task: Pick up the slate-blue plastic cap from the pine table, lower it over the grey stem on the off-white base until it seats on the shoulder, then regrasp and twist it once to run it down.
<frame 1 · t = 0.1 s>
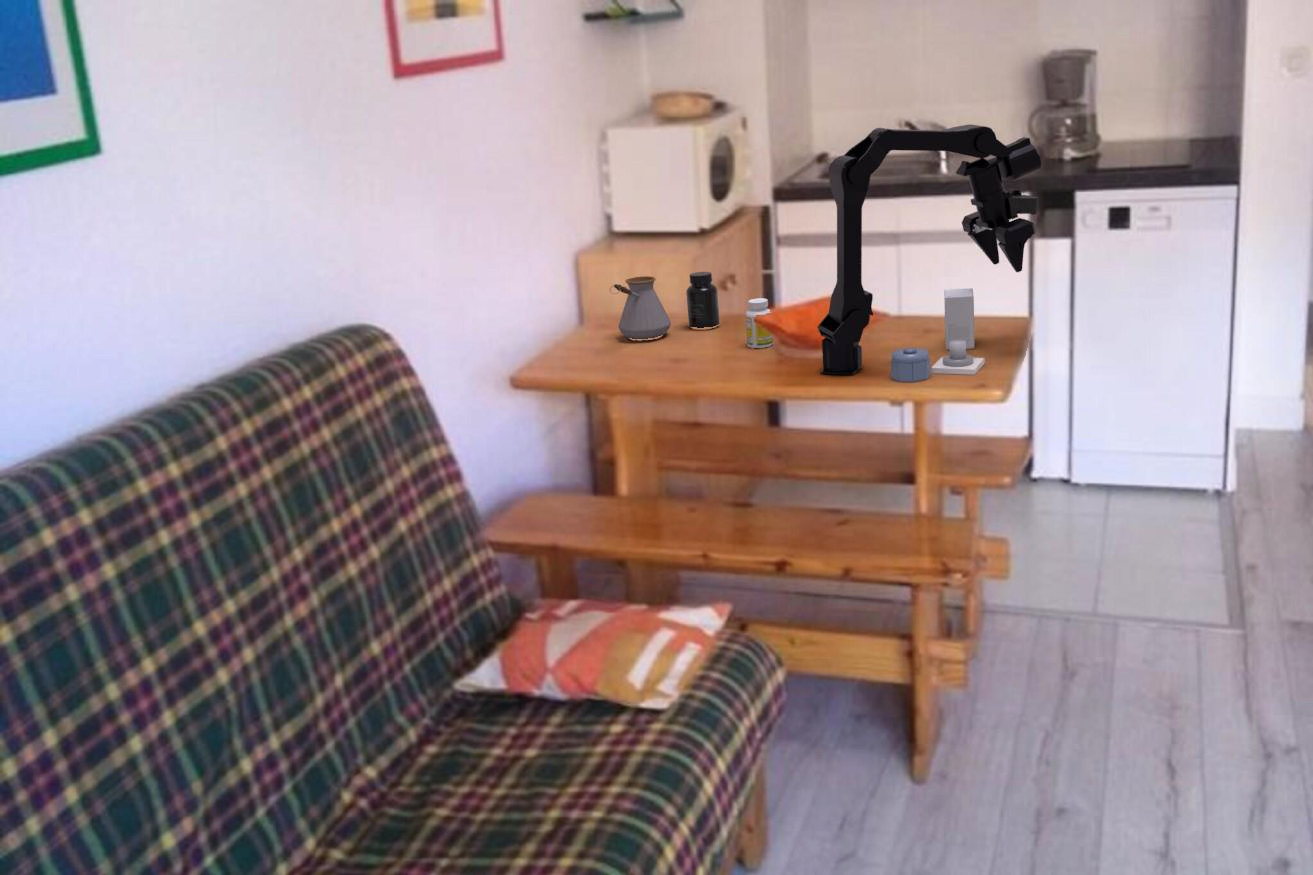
hand: (1007, 267, 262), 15 cm above the table, tool pointing down, fingers open, 9 cm apart
coffee pot: (638, 343, 295), on the table
cap: (910, 376, 252), on the table
post: (958, 368, 255), on the table
supplement bottle: (704, 328, 304), on the table
supplement bottle 2: (760, 346, 284), on the table
small box: (959, 345, 271), on the table
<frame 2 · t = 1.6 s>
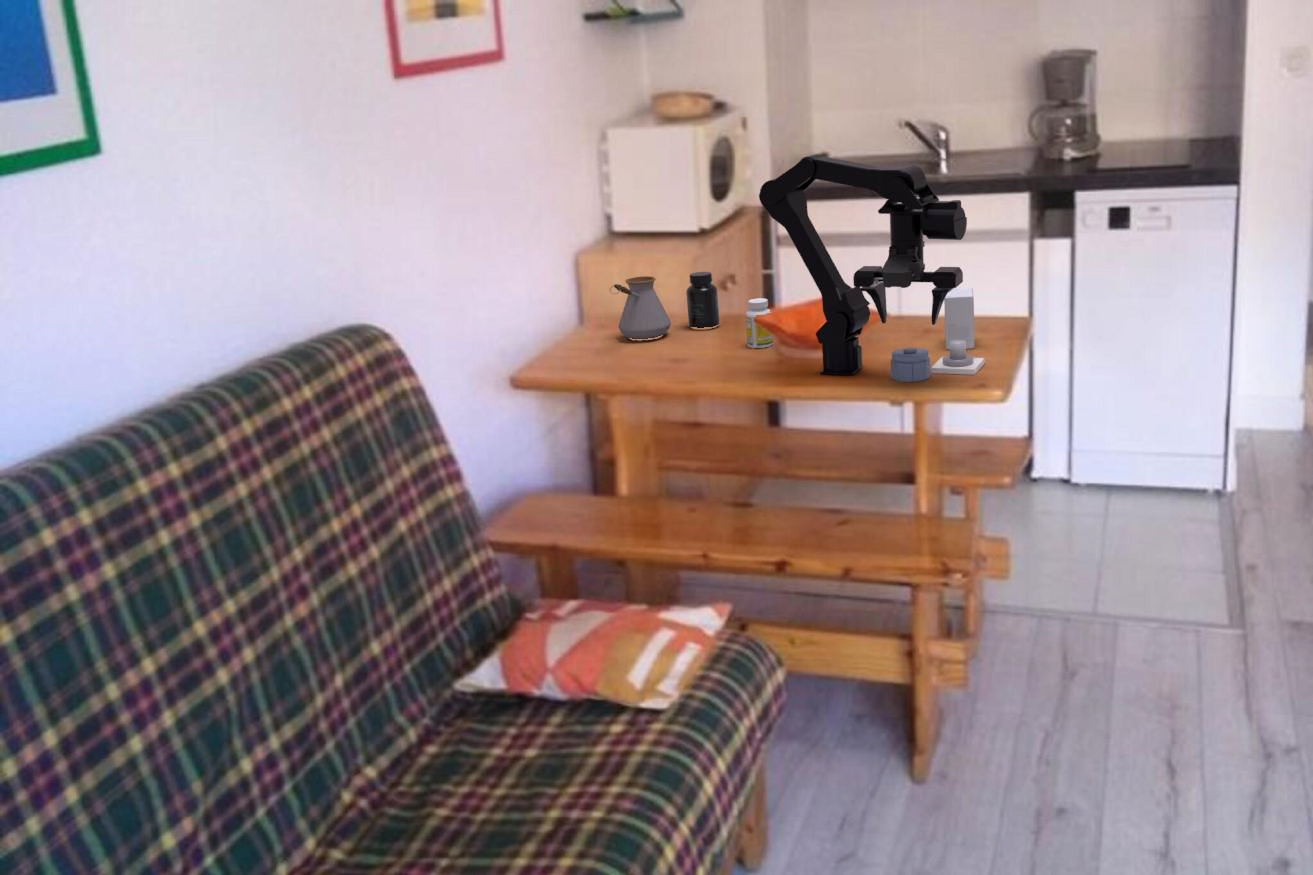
hand: (908, 323, 249), 10 cm above the table, tool pointing down, fingers open, 9 cm apart
nothing on the table moved.
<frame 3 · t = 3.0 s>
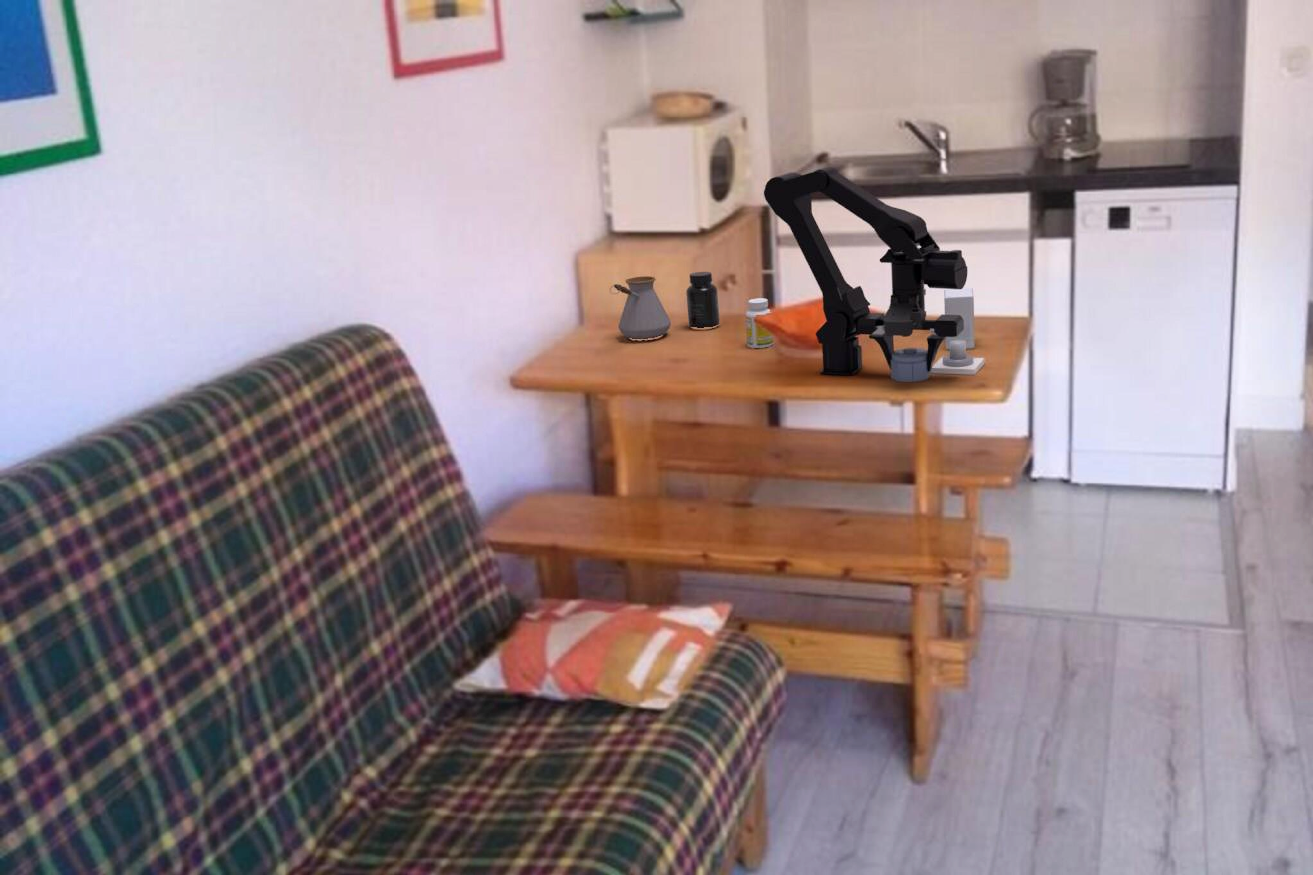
hand: (910, 370, 252), 1 cm above the table, tool pointing down, fingers closed on cap, 7 cm apart
cap: (910, 376, 252), on the table, touching gripper
everything else where it was.
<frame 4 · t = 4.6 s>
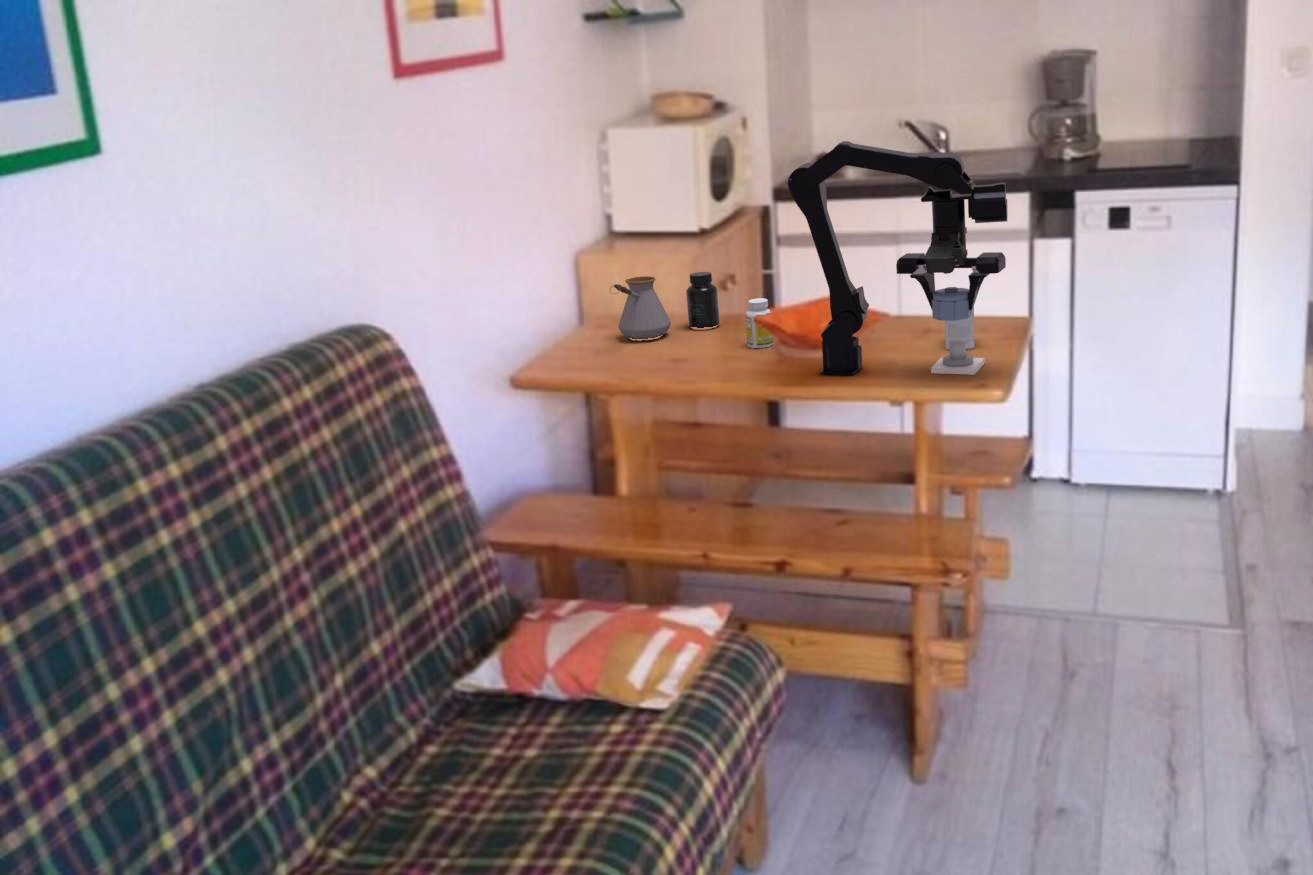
hand: (952, 309, 251), 11 cm above the table, tool pointing down, fingers closed on cap, 7 cm apart
cap: (952, 316, 251), point 10 cm above the table, touching gripper
everything else where it was.
when the fingers open (4 cm above the table, at t = 6.7 s): cap drops 1 cm, resting on post.
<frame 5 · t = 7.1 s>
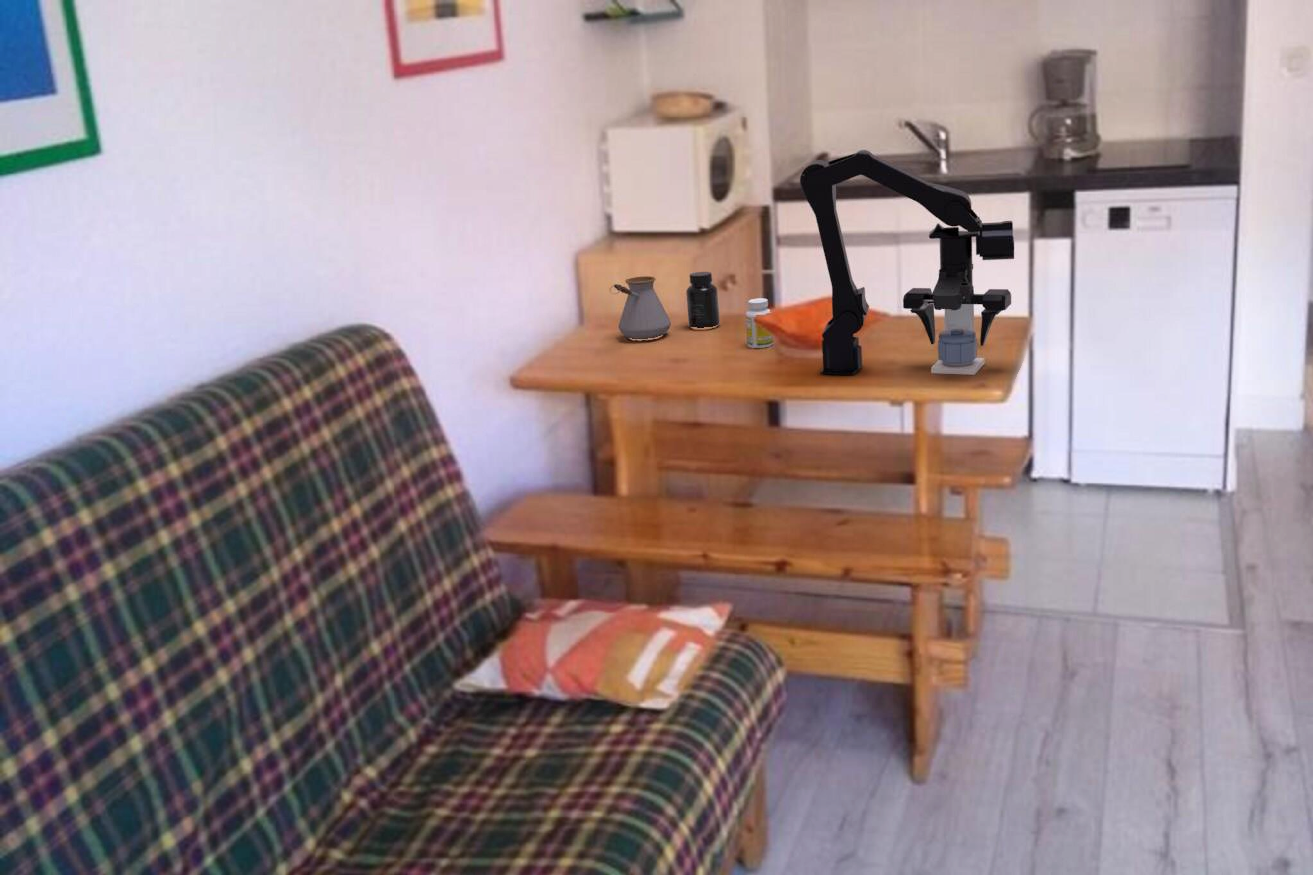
hand: (957, 344, 254), 4 cm above the table, tool pointing down, fingers open, 9 cm apart
cap: (957, 357, 254), point 2 cm above the table, touching post
everything else where it was.
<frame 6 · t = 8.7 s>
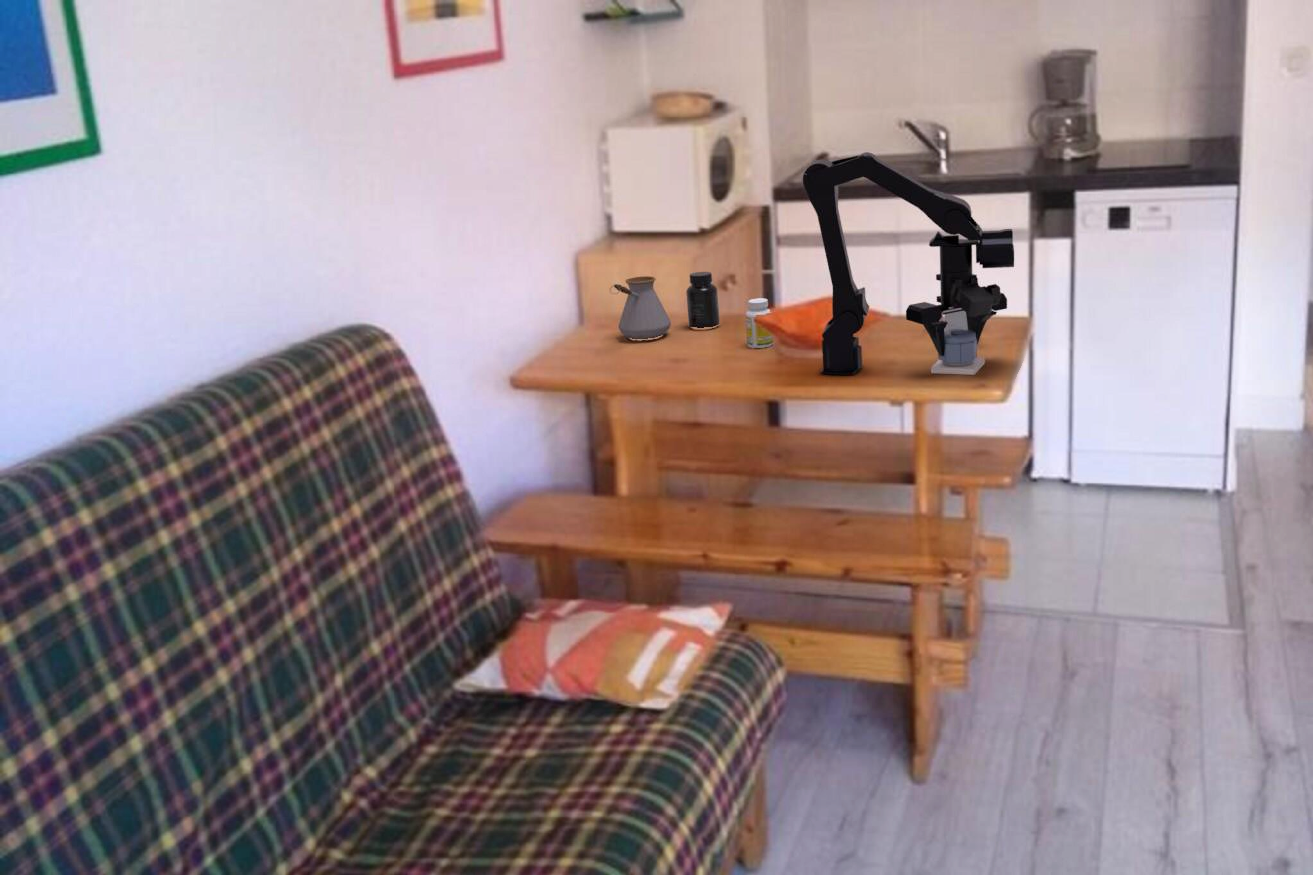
hand: (957, 352, 254), 3 cm above the table, tool pointing down, fingers closed on cap, 7 cm apart
cap: (957, 357, 254), point 2 cm above the table, touching gripper, post
everything else where it was.
when the fingers open (3 cm above the table, at t = 10.2 s): cap stays where it is, resting on post.
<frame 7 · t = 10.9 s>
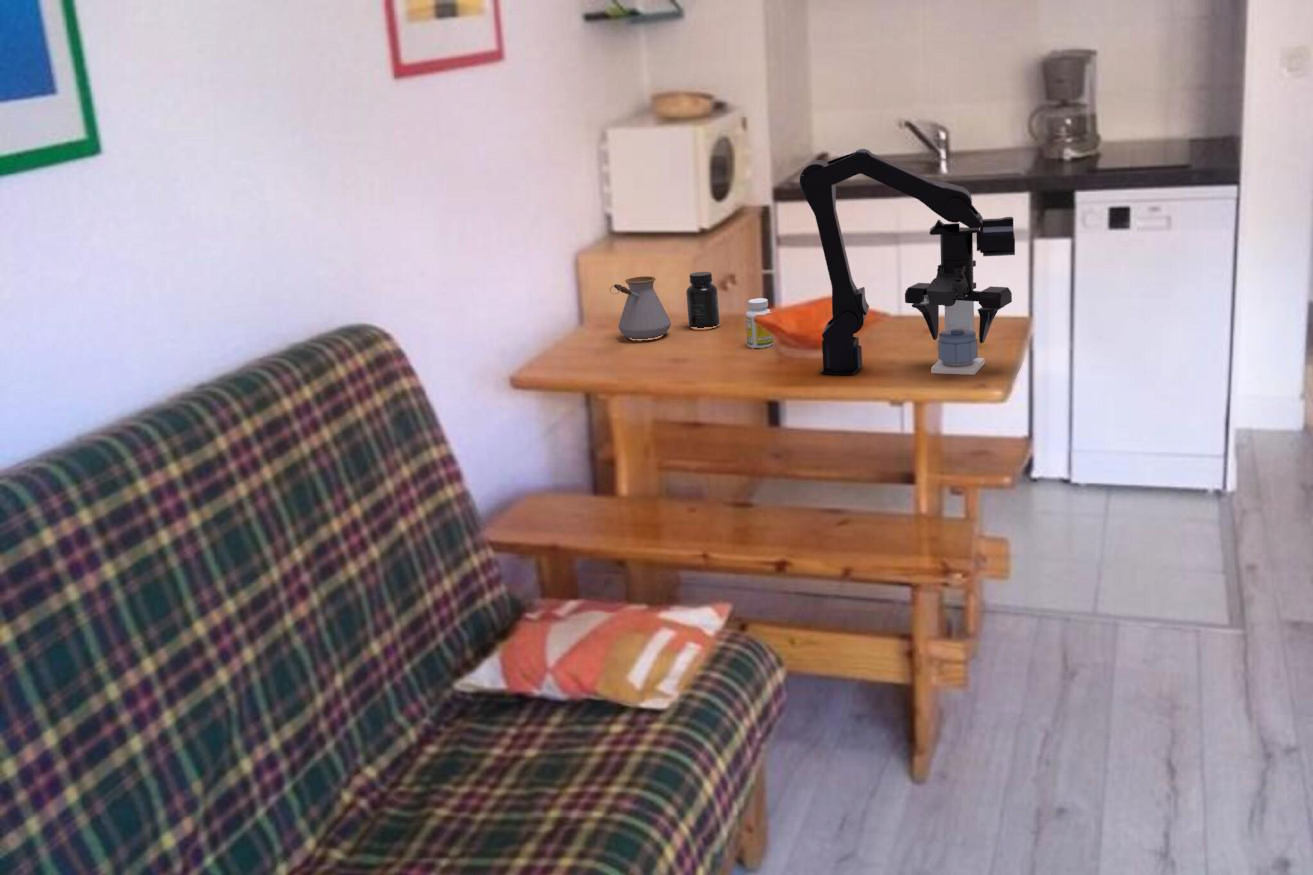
hand: (958, 341, 253), 5 cm above the table, tool pointing down, fingers open, 9 cm apart
cap: (957, 357, 254), point 2 cm above the table, touching post
everything else where it was.
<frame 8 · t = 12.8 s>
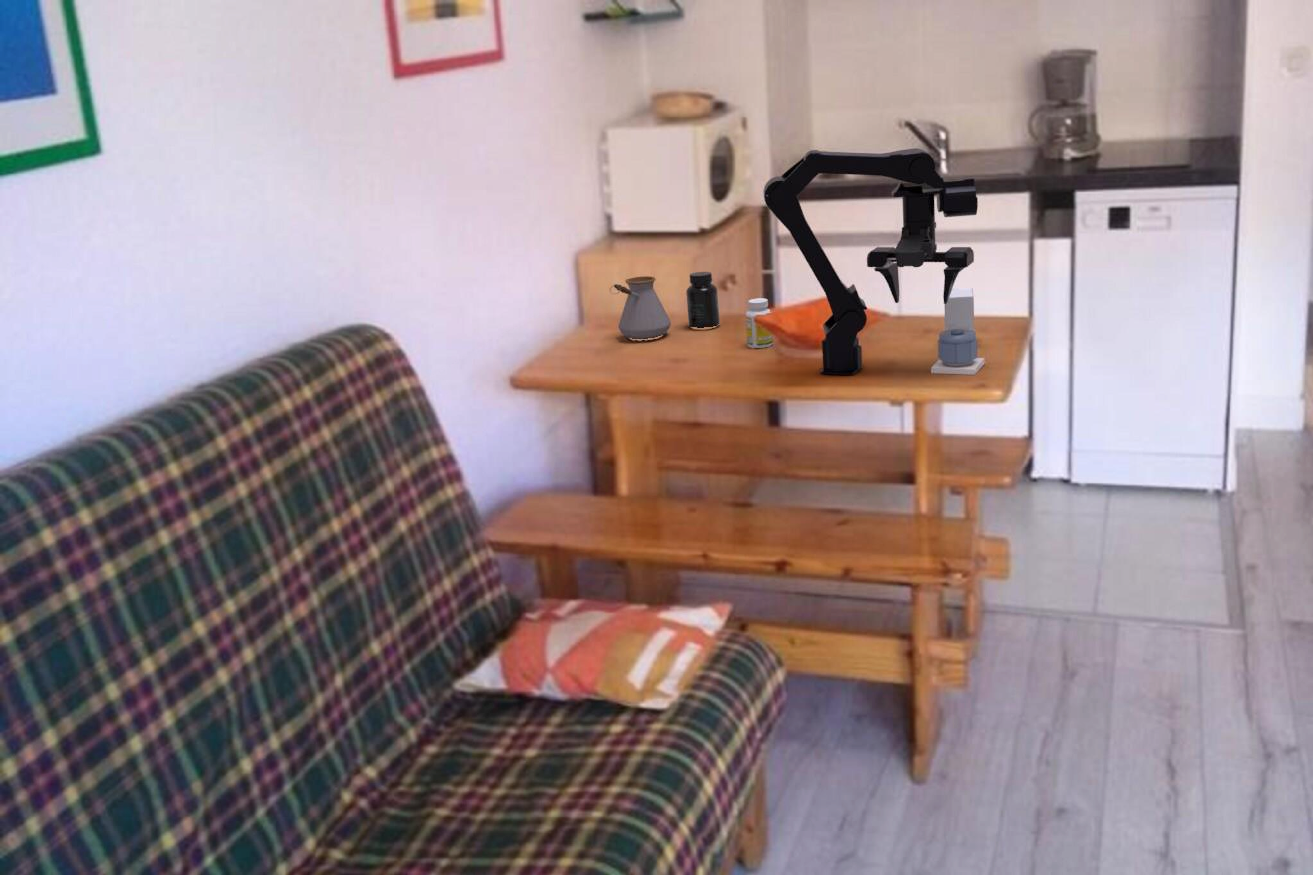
hand: (921, 303, 255), 12 cm above the table, tool pointing down, fingers open, 9 cm apart
nothing on the table moved.
at the end: cap 0.0 cm off-centre on the post, point 2.0 cm above the post's base; cap tilted 0°; the gripper is holding nothing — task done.
